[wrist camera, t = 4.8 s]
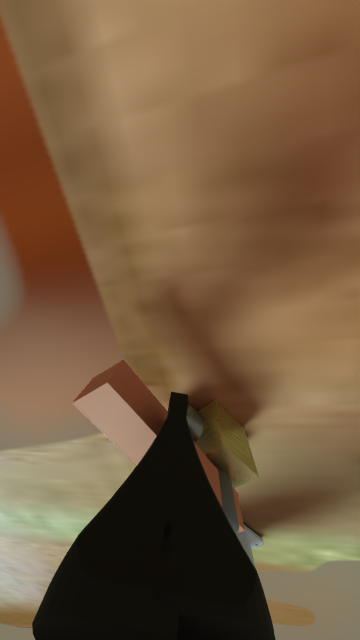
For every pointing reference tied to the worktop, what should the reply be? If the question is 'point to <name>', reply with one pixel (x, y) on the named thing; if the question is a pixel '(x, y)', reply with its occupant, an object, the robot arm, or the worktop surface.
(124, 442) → the lever
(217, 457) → the valve
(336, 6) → the worktop surface
